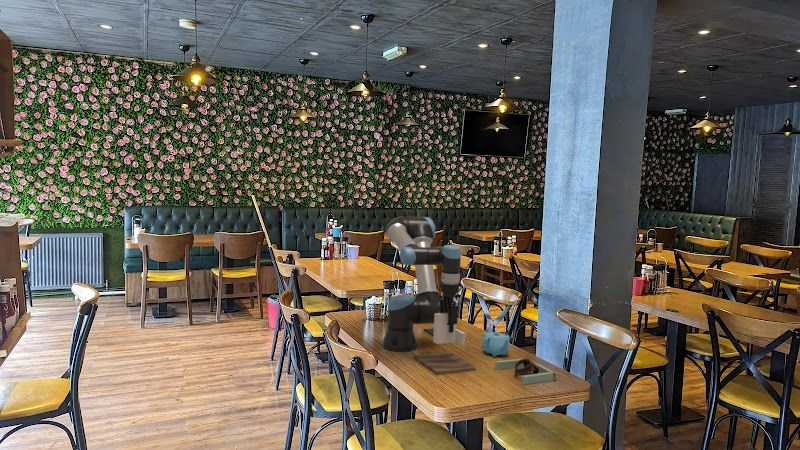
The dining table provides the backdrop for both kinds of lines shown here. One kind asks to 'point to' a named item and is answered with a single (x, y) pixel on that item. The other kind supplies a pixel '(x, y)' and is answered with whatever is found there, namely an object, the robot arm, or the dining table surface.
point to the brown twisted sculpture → (526, 367)
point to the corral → (528, 379)
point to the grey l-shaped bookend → (441, 330)
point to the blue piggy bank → (496, 343)
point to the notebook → (432, 332)
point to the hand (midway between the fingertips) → (447, 338)
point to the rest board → (443, 363)
